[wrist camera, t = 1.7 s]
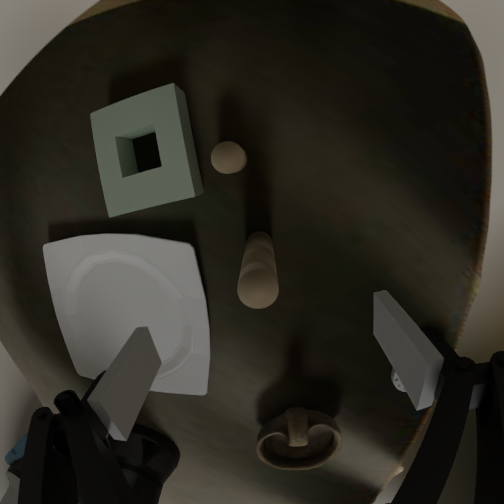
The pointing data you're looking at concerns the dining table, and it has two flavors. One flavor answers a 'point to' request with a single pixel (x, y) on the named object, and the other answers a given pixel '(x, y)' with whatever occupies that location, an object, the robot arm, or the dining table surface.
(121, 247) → the plate
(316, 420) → the brown mug
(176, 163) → the hole block
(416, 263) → the dining table surface
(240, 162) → the short dowel
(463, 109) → the dining table surface
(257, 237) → the long dowel
